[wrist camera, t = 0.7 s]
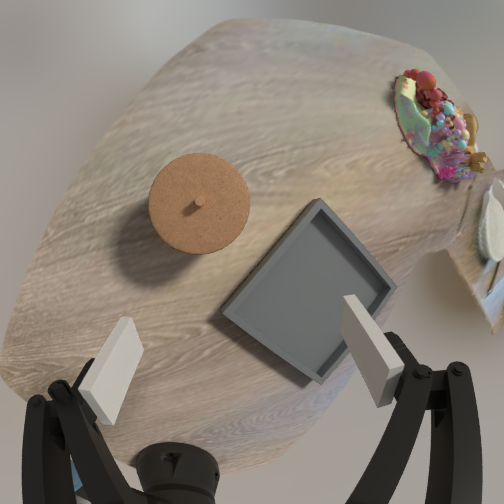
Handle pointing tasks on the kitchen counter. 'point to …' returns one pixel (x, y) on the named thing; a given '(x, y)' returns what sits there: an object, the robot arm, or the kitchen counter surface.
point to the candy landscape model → (436, 126)
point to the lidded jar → (199, 203)
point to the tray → (309, 291)
